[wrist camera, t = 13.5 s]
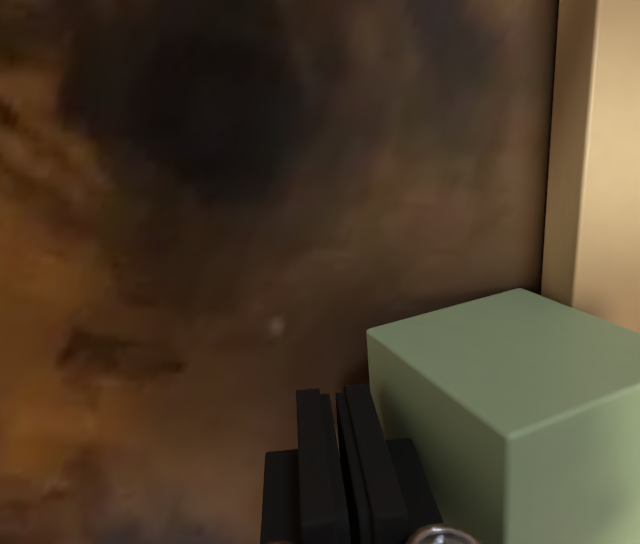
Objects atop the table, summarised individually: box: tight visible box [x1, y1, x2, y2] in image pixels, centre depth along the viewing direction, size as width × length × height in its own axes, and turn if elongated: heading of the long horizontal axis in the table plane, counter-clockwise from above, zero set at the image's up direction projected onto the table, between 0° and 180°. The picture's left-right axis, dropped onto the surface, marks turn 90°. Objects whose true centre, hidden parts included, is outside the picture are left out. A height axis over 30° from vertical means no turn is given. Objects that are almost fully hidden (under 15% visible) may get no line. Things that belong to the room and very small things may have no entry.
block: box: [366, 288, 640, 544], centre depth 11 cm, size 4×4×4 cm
